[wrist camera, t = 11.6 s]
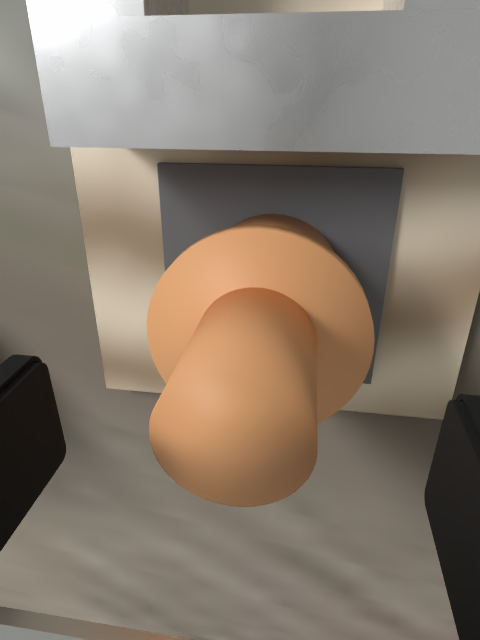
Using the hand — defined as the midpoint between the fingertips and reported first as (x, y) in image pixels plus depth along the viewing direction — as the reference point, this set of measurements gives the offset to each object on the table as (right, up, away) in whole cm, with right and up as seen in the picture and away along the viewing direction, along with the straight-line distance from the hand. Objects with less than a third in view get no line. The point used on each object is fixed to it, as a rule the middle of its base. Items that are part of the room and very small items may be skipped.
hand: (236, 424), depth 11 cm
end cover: (+2, +4, +10) cm, 11 cm away
